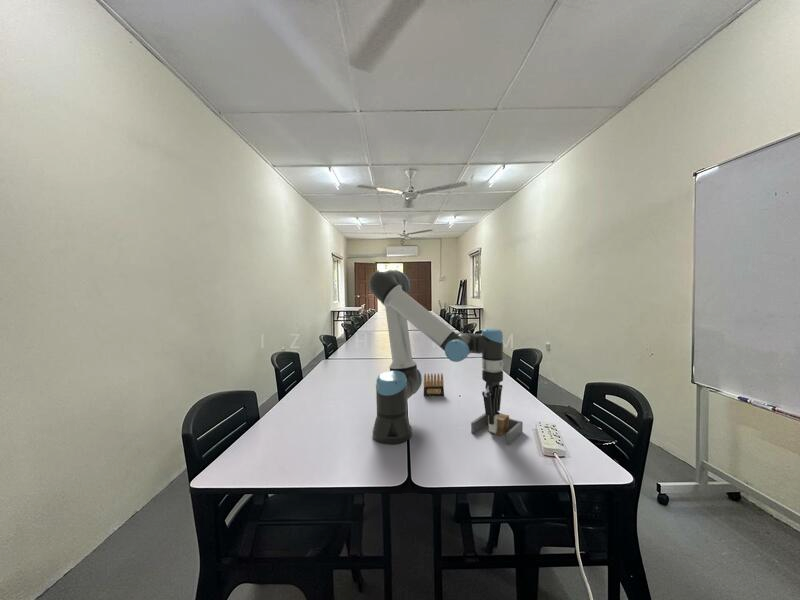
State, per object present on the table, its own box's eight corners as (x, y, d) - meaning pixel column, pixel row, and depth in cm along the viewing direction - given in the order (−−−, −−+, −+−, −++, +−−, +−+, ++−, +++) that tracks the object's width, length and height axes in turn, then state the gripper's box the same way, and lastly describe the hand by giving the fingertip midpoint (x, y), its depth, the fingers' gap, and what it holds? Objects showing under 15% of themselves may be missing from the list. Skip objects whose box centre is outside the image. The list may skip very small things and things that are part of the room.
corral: (509, 445, 108) (509, 434, 108) (471, 432, 118) (471, 422, 118) (522, 432, 118) (522, 421, 118) (486, 421, 128) (486, 412, 128)
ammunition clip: (423, 396, 160) (423, 373, 159) (423, 395, 161) (423, 372, 161) (444, 396, 160) (443, 373, 159) (443, 394, 161) (443, 372, 161)
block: (502, 436, 115) (502, 420, 115) (487, 431, 119) (487, 416, 119) (509, 430, 120) (509, 415, 119) (494, 426, 124) (494, 411, 123)
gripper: (494, 375, 107) (495, 441, 108) (509, 368, 117) (509, 428, 118) (475, 371, 112) (475, 434, 113) (490, 365, 122) (491, 423, 123)
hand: (492, 431), depth 115 cm, fingers closed
